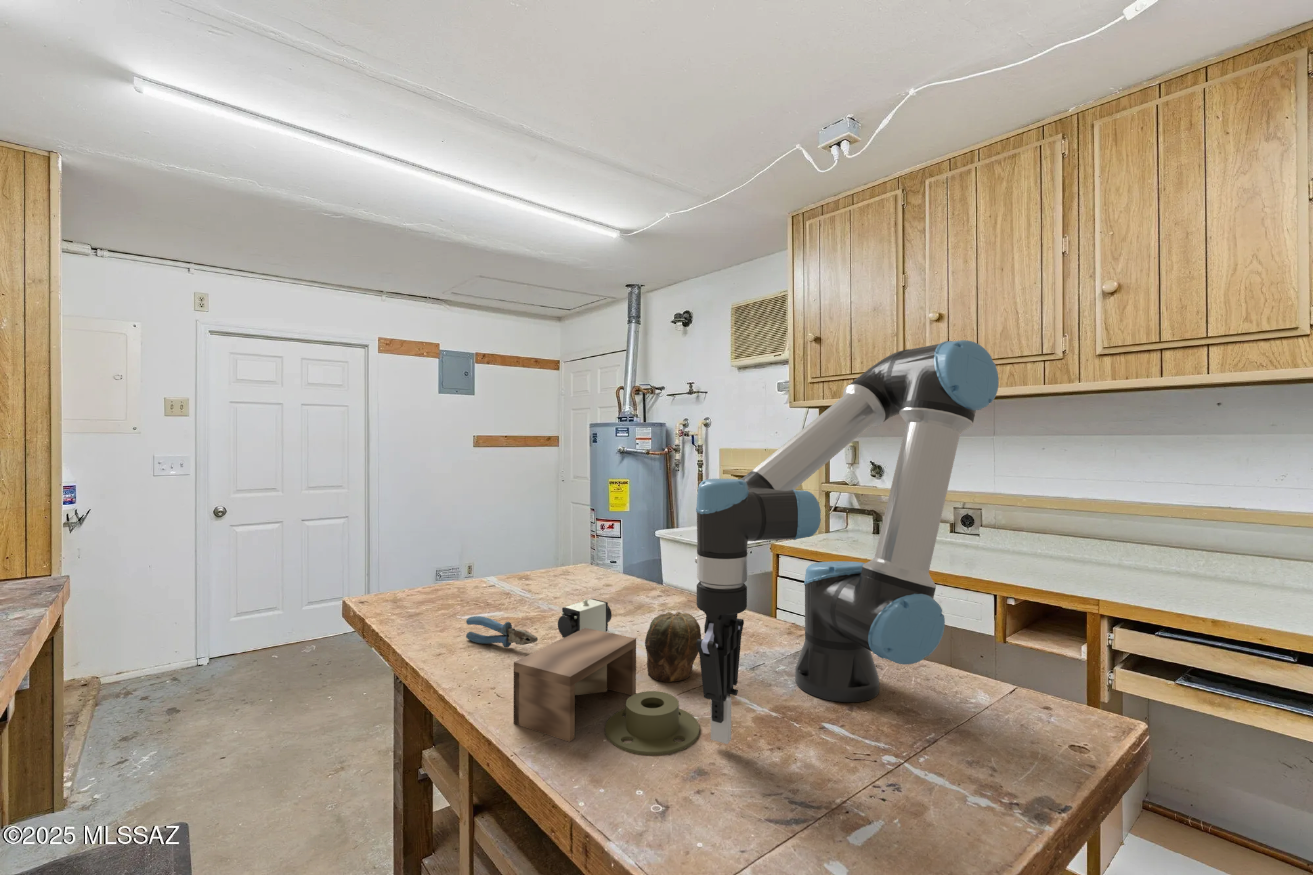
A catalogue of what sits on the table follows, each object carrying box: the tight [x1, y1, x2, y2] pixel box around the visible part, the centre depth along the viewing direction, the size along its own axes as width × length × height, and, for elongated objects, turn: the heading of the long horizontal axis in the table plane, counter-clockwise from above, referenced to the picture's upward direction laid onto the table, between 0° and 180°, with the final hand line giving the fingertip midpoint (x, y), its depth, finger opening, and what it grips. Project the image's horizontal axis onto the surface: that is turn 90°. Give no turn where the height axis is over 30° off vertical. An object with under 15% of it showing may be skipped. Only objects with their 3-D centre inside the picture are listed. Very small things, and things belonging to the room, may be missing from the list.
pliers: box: [465, 615, 539, 649], centre depth 128 cm, size 20×2×6 cm, turn 62°
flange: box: [604, 690, 700, 756], centre depth 93 cm, size 5×15×15 cm
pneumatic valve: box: [557, 598, 613, 639], centre depth 123 cm, size 6×12×12 cm, turn 141°
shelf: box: [513, 628, 637, 743], centre depth 100 cm, size 12×19×10 cm, turn 151°
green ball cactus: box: [644, 611, 702, 683], centre depth 114 cm, size 11×11×12 cm
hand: (720, 739), depth 87 cm, fingers closed
